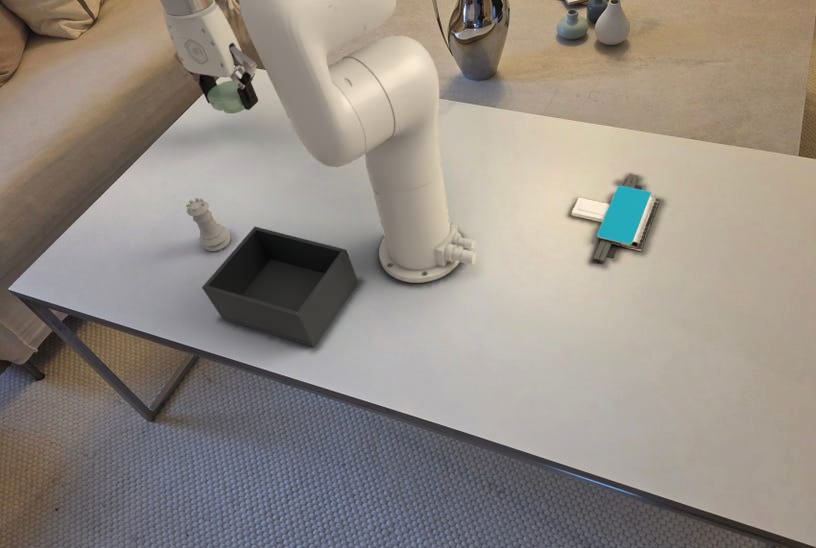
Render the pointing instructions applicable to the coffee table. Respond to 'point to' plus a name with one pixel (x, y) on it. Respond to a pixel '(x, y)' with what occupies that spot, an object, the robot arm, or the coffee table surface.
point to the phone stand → (620, 218)
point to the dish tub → (282, 285)
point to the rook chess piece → (208, 226)
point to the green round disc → (226, 97)
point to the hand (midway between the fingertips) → (233, 102)
